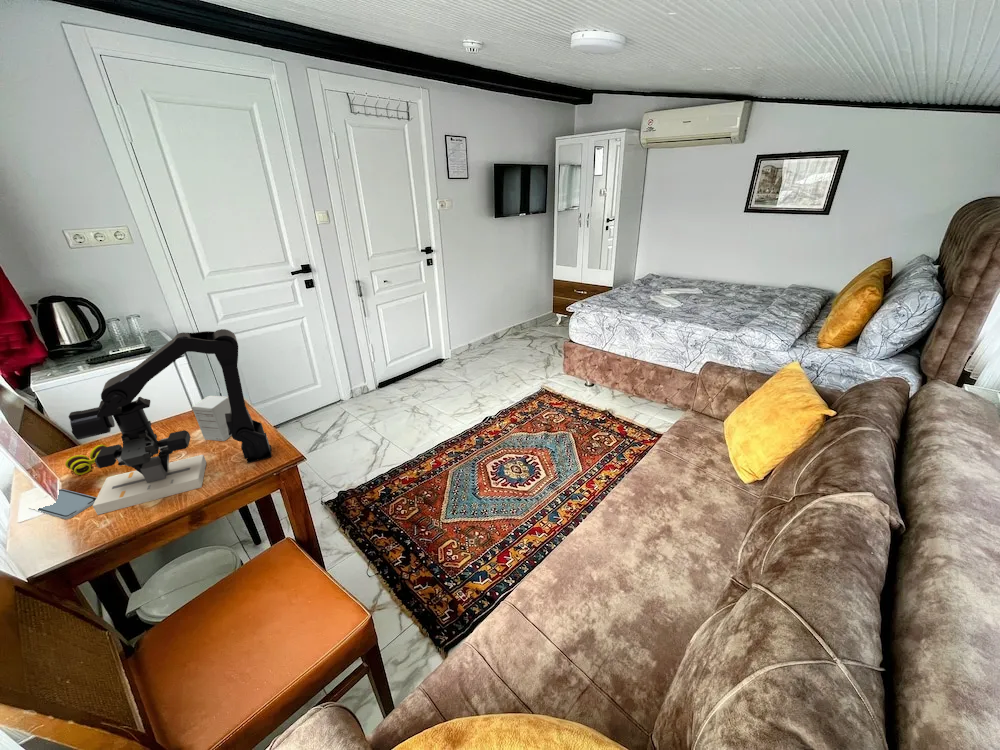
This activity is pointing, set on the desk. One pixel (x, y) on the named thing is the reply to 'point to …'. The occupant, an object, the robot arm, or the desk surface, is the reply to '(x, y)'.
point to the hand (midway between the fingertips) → (157, 473)
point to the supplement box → (213, 417)
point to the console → (149, 485)
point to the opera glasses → (83, 461)
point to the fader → (153, 470)
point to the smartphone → (68, 504)
